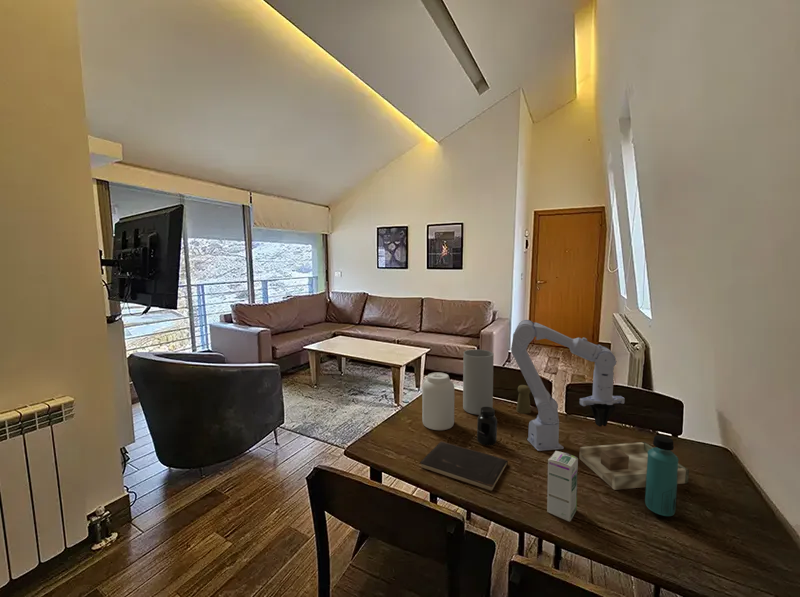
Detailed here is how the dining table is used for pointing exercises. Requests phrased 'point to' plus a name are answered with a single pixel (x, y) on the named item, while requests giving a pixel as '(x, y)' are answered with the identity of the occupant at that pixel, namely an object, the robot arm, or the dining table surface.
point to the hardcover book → (465, 465)
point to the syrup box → (562, 485)
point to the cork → (523, 400)
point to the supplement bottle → (487, 426)
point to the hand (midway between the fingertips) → (600, 425)
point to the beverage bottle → (661, 477)
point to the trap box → (636, 466)
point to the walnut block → (614, 459)
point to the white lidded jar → (438, 402)
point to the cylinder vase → (477, 380)
